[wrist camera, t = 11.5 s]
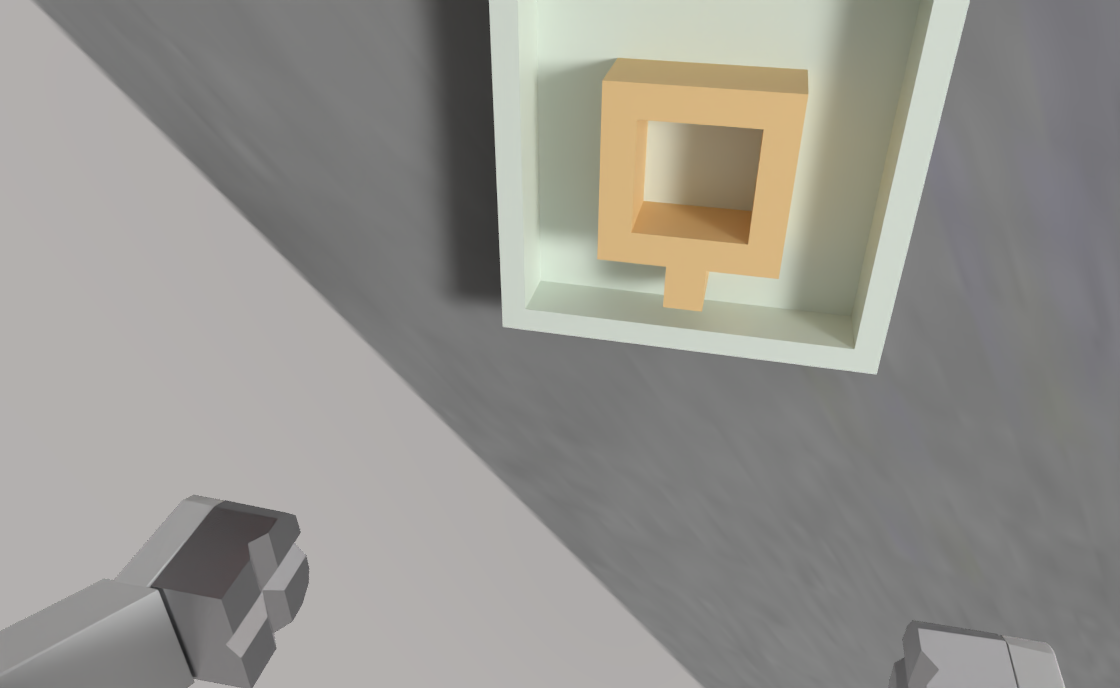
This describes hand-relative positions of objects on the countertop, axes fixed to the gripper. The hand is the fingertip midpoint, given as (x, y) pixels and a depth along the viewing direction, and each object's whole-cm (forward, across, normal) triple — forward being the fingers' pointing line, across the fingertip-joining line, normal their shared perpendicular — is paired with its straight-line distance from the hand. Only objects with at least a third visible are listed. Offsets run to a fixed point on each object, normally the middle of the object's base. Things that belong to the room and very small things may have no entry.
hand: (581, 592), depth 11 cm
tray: (+18, 0, 0) cm, 18 cm away
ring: (+18, 0, 0) cm, 18 cm away
